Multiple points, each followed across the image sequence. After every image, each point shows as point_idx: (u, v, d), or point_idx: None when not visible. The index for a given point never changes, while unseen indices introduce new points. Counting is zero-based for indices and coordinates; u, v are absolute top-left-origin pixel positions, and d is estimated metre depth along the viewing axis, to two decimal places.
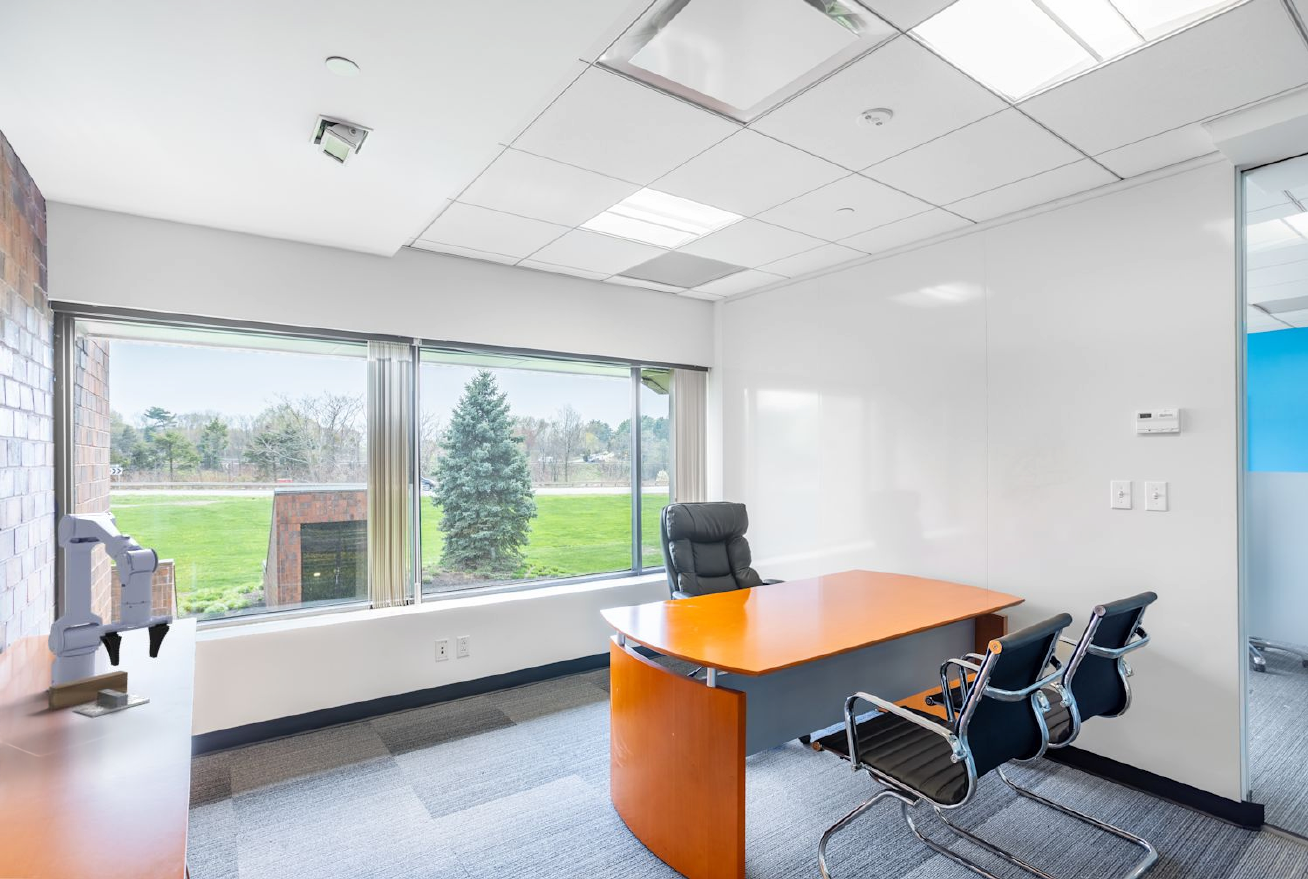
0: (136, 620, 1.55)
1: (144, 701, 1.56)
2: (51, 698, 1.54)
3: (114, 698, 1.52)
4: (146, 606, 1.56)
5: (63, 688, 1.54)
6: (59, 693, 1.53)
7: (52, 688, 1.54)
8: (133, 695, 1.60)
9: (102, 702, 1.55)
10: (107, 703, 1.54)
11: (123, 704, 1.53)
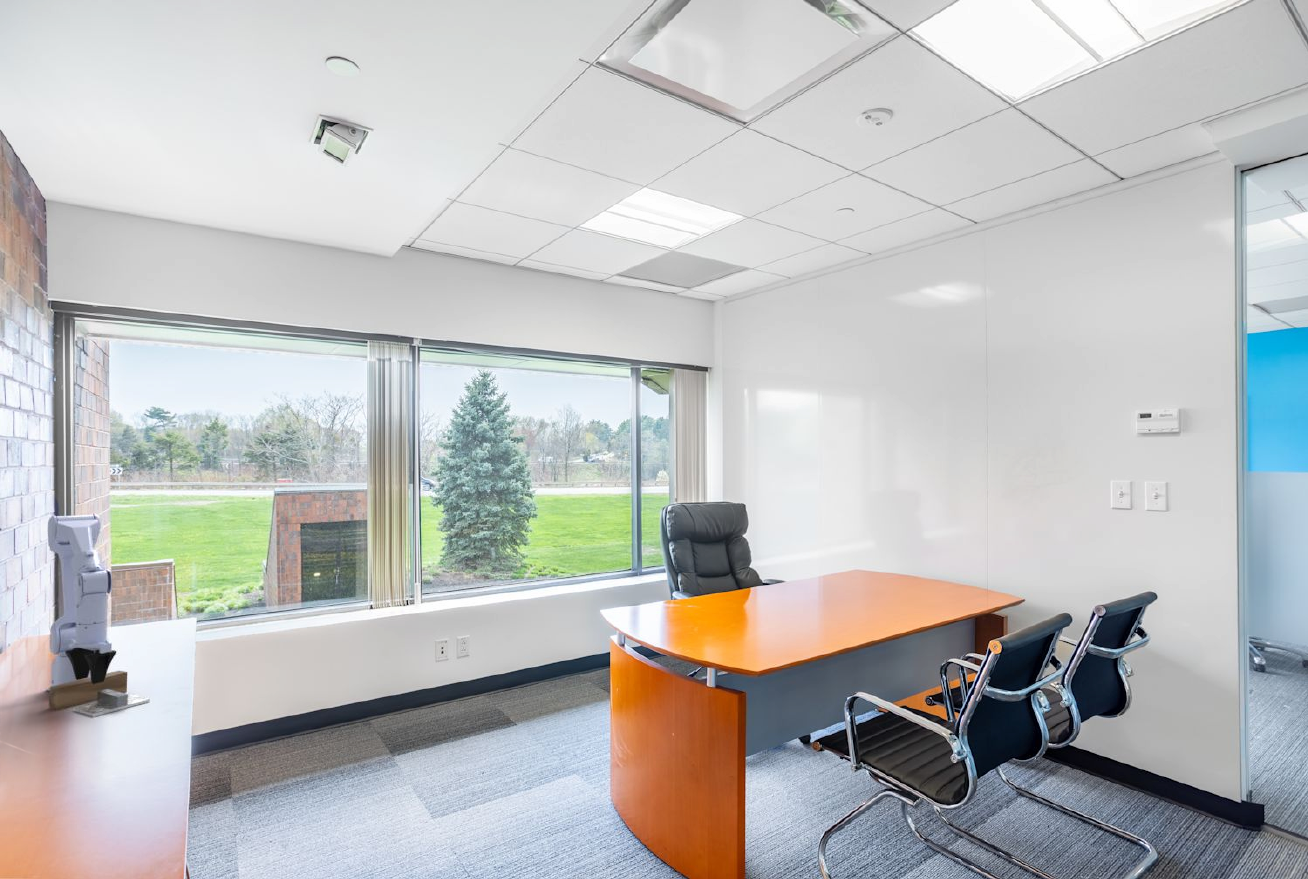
0: (75, 640, 1.58)
1: (144, 701, 1.56)
2: (51, 698, 1.53)
3: (114, 698, 1.52)
4: (80, 629, 1.57)
5: (64, 688, 1.54)
6: (60, 693, 1.53)
7: (53, 688, 1.53)
8: (133, 695, 1.60)
9: (102, 702, 1.55)
10: (107, 703, 1.54)
11: (123, 704, 1.53)
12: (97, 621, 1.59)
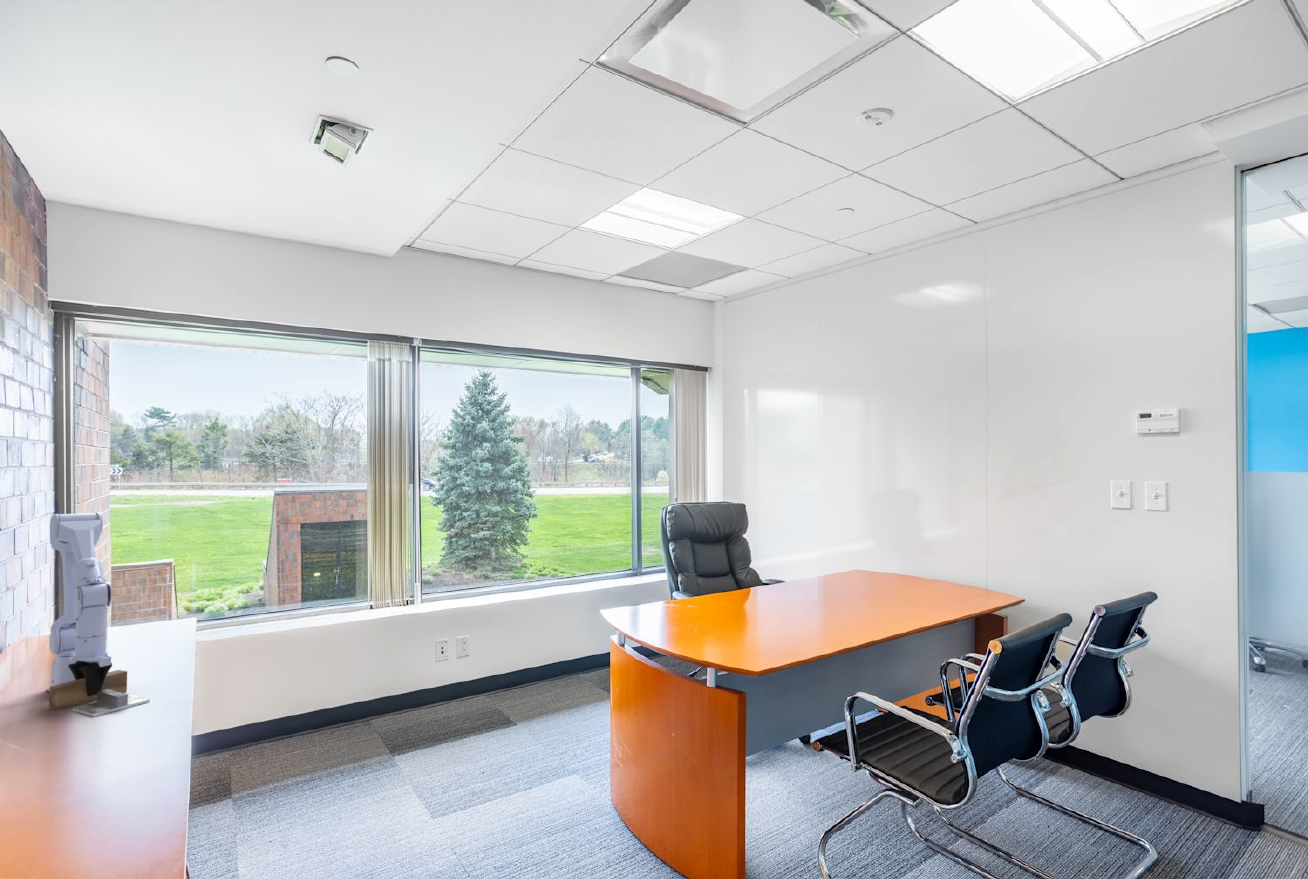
0: (74, 653, 1.58)
1: (144, 701, 1.56)
2: (51, 697, 1.53)
3: (114, 698, 1.52)
4: (79, 642, 1.57)
5: (64, 687, 1.54)
6: (61, 693, 1.53)
7: (53, 687, 1.53)
8: (133, 695, 1.60)
9: (102, 702, 1.55)
10: (107, 703, 1.54)
11: (123, 704, 1.53)
12: (97, 634, 1.59)
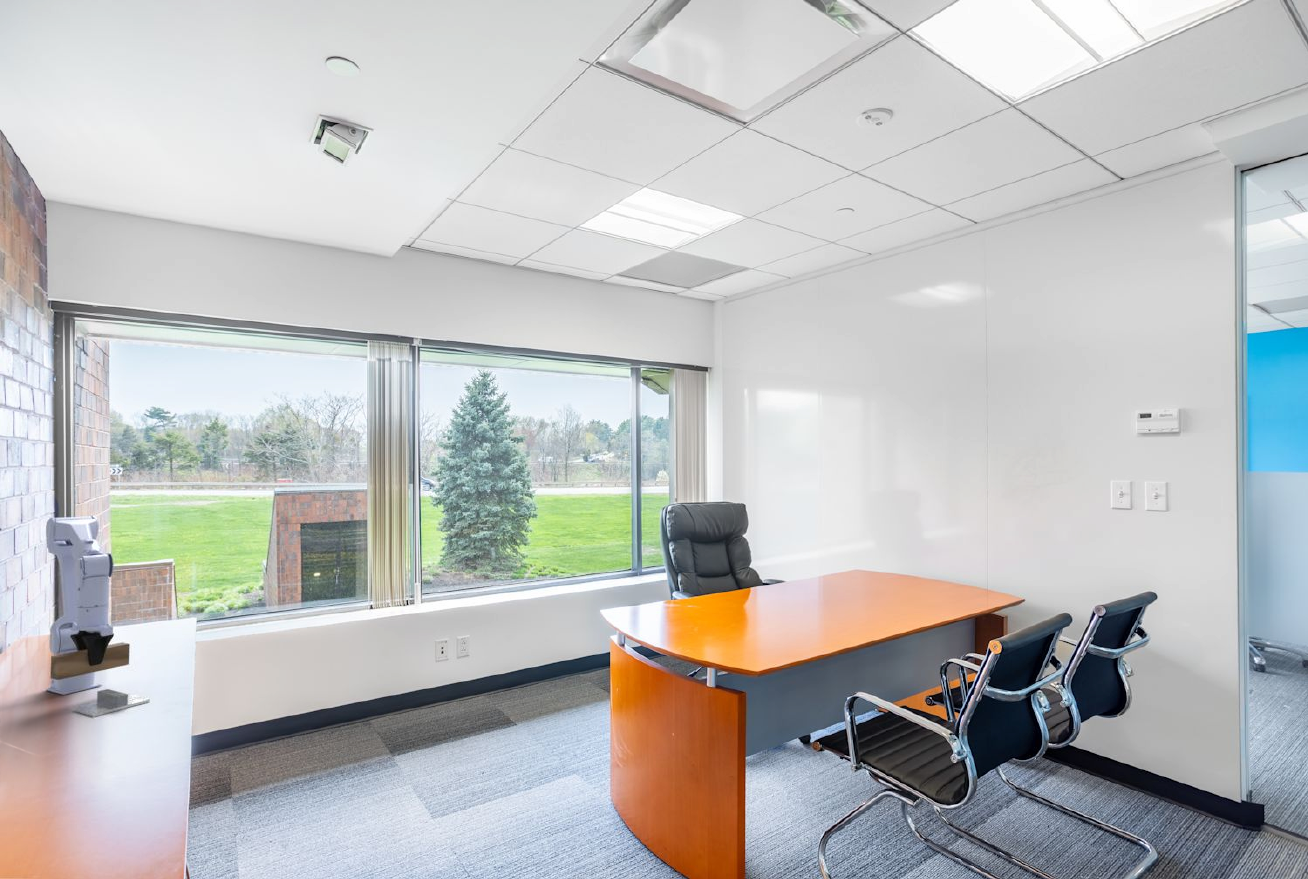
0: (76, 623, 1.58)
1: (144, 701, 1.56)
2: (53, 667, 1.54)
3: (114, 698, 1.52)
4: (81, 612, 1.57)
5: (65, 657, 1.54)
6: (61, 662, 1.53)
7: (54, 657, 1.54)
8: (133, 695, 1.60)
9: (102, 702, 1.55)
10: (107, 703, 1.54)
11: (123, 704, 1.53)
12: (99, 604, 1.59)
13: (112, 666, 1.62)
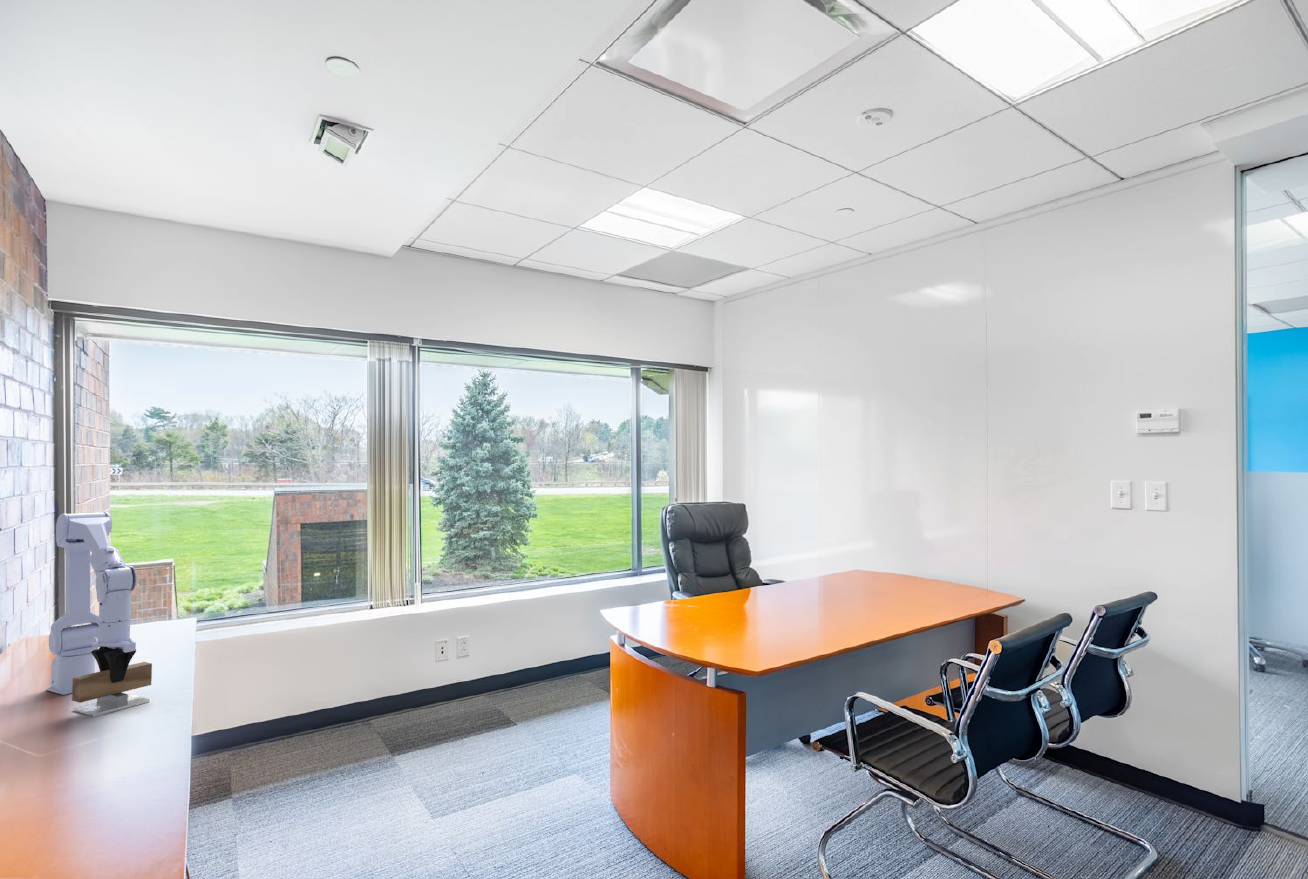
0: (98, 638, 1.53)
1: (144, 701, 1.56)
2: (74, 689, 1.49)
3: (114, 698, 1.52)
4: (103, 627, 1.53)
5: (87, 679, 1.49)
6: (83, 684, 1.48)
7: (76, 679, 1.49)
8: (133, 695, 1.60)
9: (102, 702, 1.55)
10: (107, 703, 1.54)
11: (123, 704, 1.53)
12: (122, 619, 1.54)
13: (134, 687, 1.57)
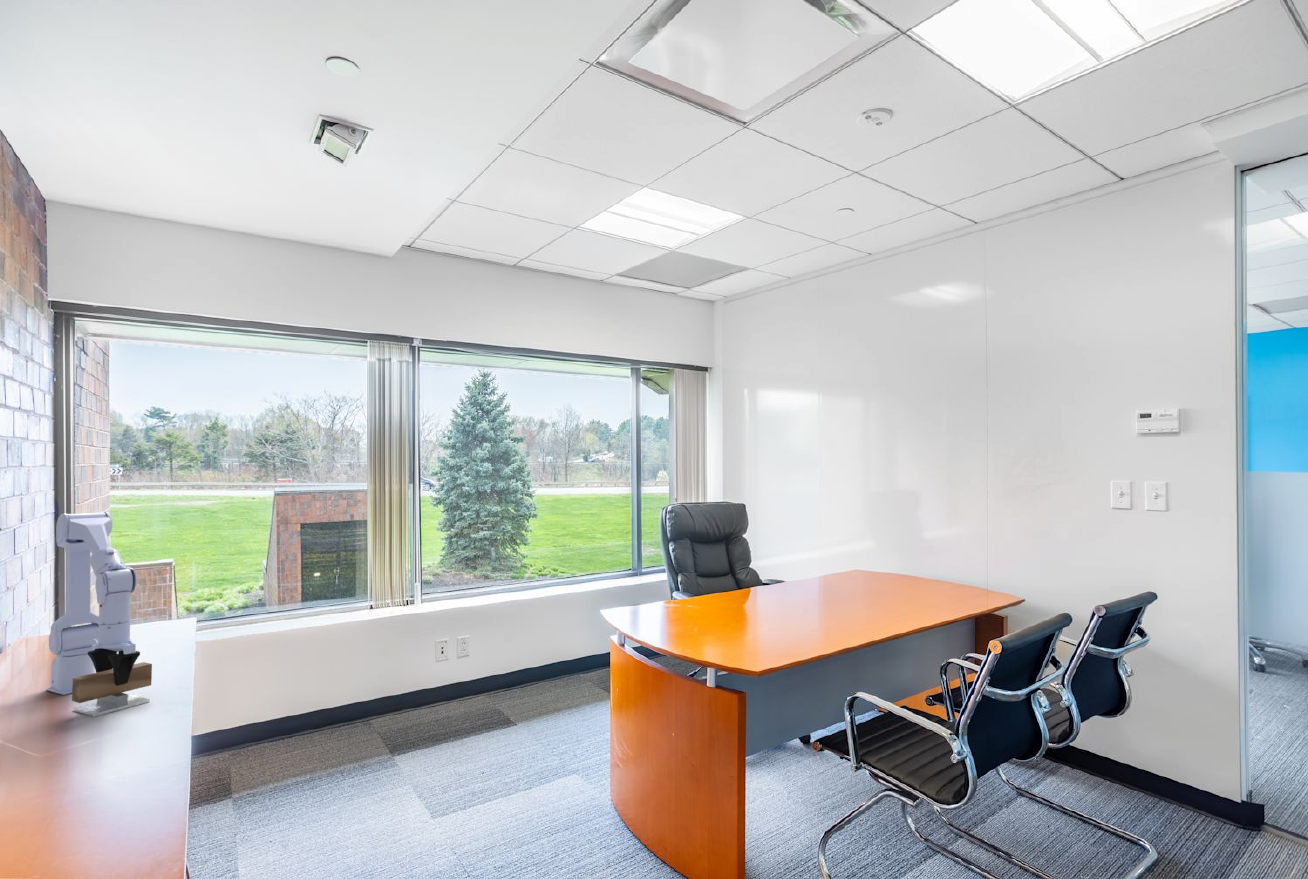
0: (98, 640, 1.53)
1: (144, 701, 1.56)
2: (74, 689, 1.49)
3: (114, 698, 1.52)
4: (103, 629, 1.53)
5: (87, 679, 1.49)
6: (83, 685, 1.48)
7: (76, 679, 1.49)
8: (133, 695, 1.60)
9: (102, 702, 1.55)
10: (107, 703, 1.54)
11: (123, 704, 1.53)
12: (122, 621, 1.54)
13: (134, 687, 1.57)
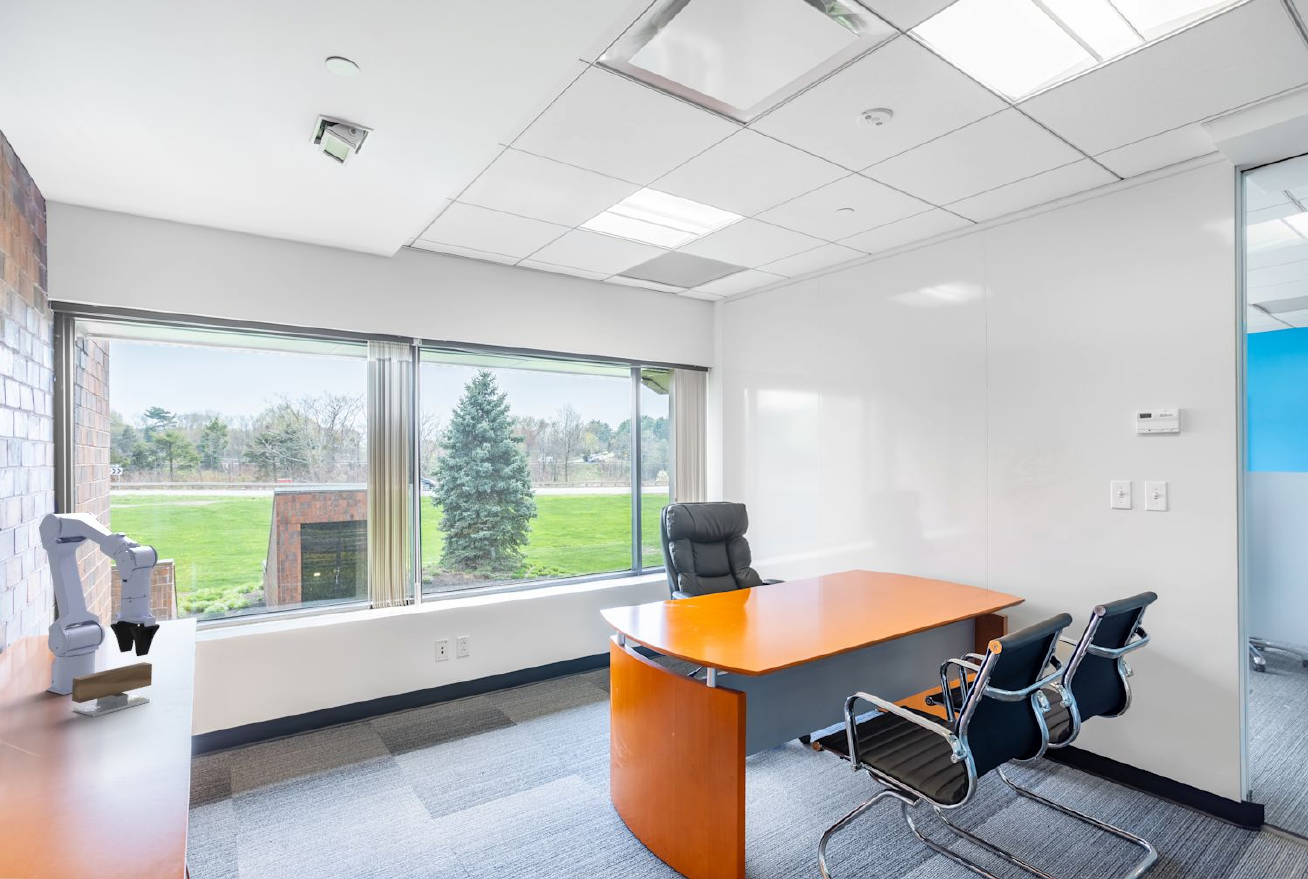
0: (120, 613, 1.62)
1: (144, 701, 1.56)
2: (74, 689, 1.49)
3: (114, 698, 1.52)
4: (125, 603, 1.61)
5: (87, 679, 1.49)
6: (83, 685, 1.48)
7: (76, 679, 1.49)
8: (133, 695, 1.60)
9: (102, 702, 1.55)
10: (107, 703, 1.54)
11: (123, 704, 1.53)
12: (146, 594, 1.64)
13: (134, 687, 1.57)
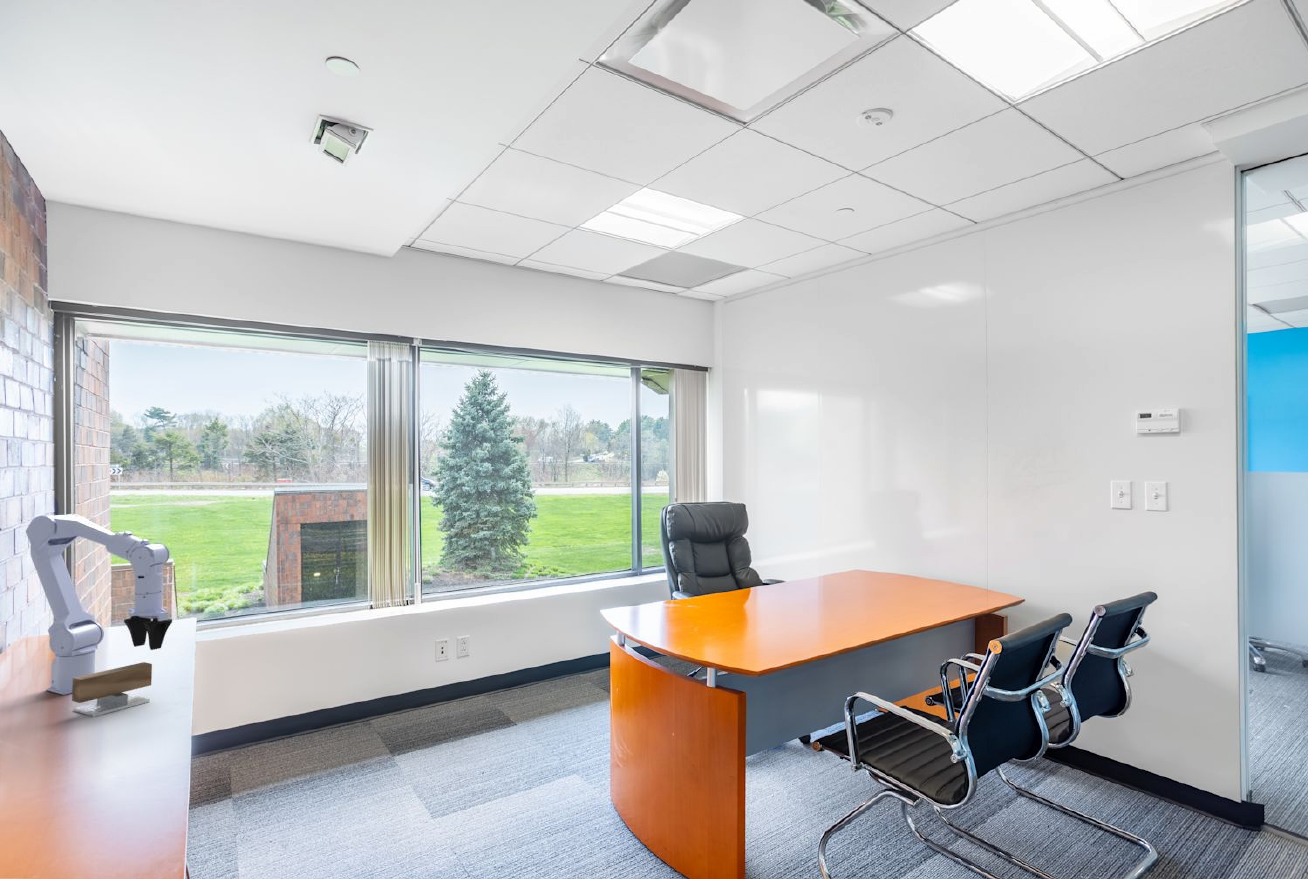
0: (134, 609, 1.67)
1: (144, 701, 1.56)
2: (74, 689, 1.49)
3: (114, 698, 1.52)
4: (138, 598, 1.67)
5: (87, 679, 1.49)
6: (83, 685, 1.48)
7: (76, 679, 1.49)
8: (133, 695, 1.60)
9: (102, 702, 1.55)
10: (107, 703, 1.54)
11: (123, 704, 1.53)
12: (161, 590, 1.70)
13: (134, 687, 1.57)
